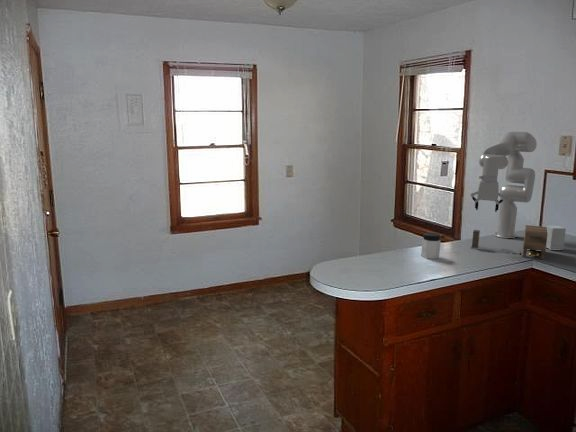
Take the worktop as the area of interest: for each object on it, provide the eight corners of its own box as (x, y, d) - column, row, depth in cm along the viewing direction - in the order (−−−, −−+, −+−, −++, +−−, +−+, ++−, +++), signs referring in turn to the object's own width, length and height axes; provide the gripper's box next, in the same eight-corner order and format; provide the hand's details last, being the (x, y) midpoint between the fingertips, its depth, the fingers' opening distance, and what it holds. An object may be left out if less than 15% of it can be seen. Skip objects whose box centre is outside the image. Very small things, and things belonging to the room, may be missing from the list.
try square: (471, 246, 273) (473, 229, 271) (519, 253, 262) (522, 234, 260) (470, 248, 268) (472, 231, 266) (519, 255, 258) (521, 236, 256)
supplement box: (563, 251, 267) (566, 228, 264) (549, 250, 267) (552, 228, 264) (556, 247, 274) (559, 225, 271) (543, 247, 274) (545, 225, 272)
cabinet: (523, 248, 270) (525, 225, 267) (543, 251, 265) (546, 227, 263) (522, 257, 253) (525, 231, 250) (544, 259, 249) (547, 234, 246)
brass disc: (528, 254, 260) (528, 251, 260) (538, 255, 258) (538, 252, 258) (528, 256, 256) (528, 253, 256) (538, 257, 254) (539, 254, 253)
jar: (418, 255, 254) (420, 232, 251) (431, 254, 256) (433, 231, 254) (428, 259, 245) (429, 236, 243) (442, 258, 248) (443, 235, 245)
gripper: (471, 178, 261) (468, 209, 264) (506, 180, 253) (503, 213, 256) (473, 177, 267) (470, 207, 271) (507, 179, 260) (504, 211, 263)
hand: (486, 210), depth 263 cm, fingers open, 9 cm apart
